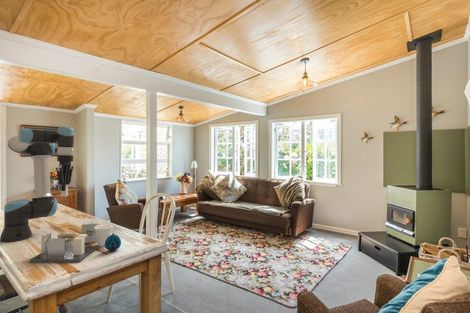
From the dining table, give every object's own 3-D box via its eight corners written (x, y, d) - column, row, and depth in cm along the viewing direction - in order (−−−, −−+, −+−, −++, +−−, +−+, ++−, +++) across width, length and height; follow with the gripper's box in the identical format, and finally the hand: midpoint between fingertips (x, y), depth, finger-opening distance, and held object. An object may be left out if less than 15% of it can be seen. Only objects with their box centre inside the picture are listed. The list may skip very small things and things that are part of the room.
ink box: (83, 239, 161) (83, 220, 160) (98, 237, 164) (98, 219, 164) (81, 244, 153) (81, 224, 153) (97, 242, 156) (97, 223, 156)
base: (29, 262, 126) (30, 240, 126) (53, 248, 144) (53, 229, 144) (80, 262, 128) (80, 240, 128) (96, 248, 146) (97, 229, 146)
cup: (98, 241, 157) (98, 224, 157) (115, 241, 158) (115, 224, 157) (90, 248, 147) (91, 229, 147) (108, 247, 148) (108, 229, 147)
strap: (45, 241, 134) (45, 240, 134) (47, 240, 136) (47, 238, 136) (80, 240, 136) (80, 239, 136) (82, 239, 138) (82, 237, 138)
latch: (73, 255, 133) (73, 238, 133) (80, 250, 139) (80, 234, 139) (81, 255, 133) (81, 238, 133) (87, 250, 139) (87, 234, 139)
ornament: (104, 253, 140) (104, 235, 140) (104, 250, 144) (105, 232, 144) (120, 251, 143) (121, 233, 143) (120, 248, 148) (121, 231, 147)
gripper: (65, 155, 137) (64, 198, 138) (78, 154, 150) (77, 194, 151) (50, 154, 137) (49, 198, 138) (65, 154, 150) (64, 193, 151)
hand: (64, 196), depth 145 cm, fingers closed
